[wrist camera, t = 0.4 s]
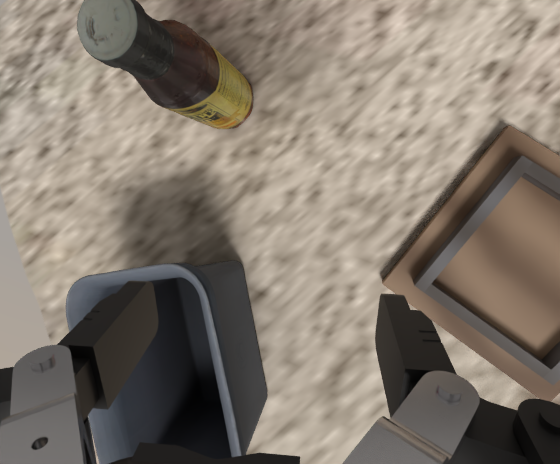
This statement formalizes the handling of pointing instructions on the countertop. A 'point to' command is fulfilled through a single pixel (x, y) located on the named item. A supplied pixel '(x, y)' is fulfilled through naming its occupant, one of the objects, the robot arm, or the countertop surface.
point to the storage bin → (183, 363)
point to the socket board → (496, 262)
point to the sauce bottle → (166, 62)
